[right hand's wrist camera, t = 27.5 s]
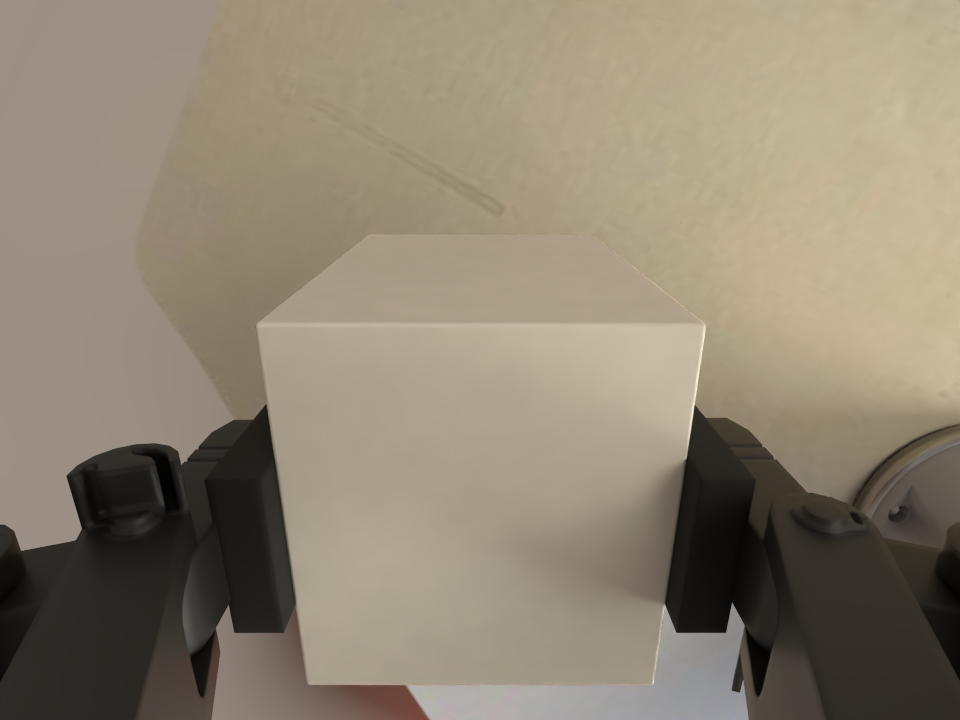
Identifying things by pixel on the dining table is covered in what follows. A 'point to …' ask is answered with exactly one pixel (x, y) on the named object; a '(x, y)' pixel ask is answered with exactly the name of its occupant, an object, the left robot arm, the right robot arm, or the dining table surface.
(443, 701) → the dining table surface
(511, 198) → the dining table surface
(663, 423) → the brick
